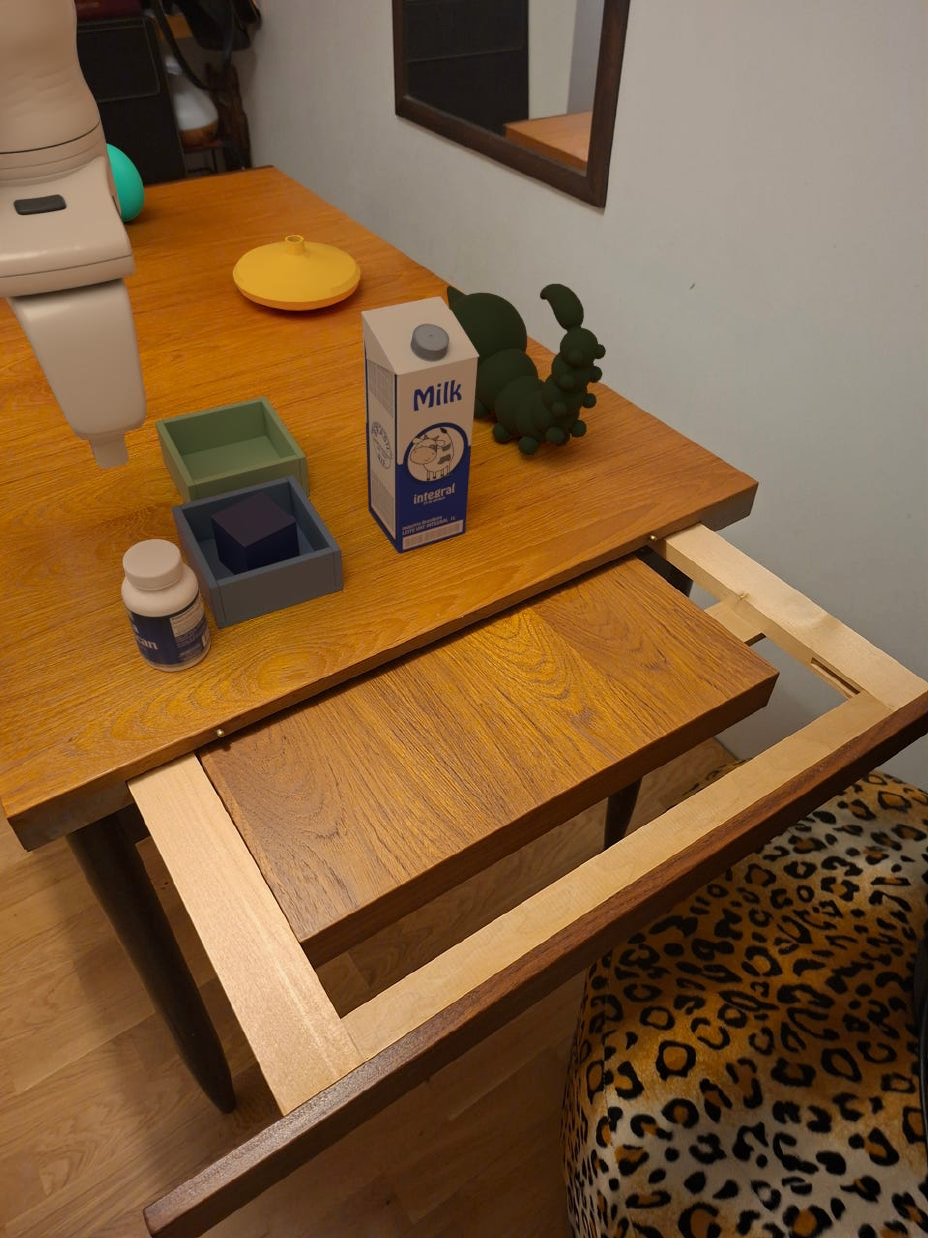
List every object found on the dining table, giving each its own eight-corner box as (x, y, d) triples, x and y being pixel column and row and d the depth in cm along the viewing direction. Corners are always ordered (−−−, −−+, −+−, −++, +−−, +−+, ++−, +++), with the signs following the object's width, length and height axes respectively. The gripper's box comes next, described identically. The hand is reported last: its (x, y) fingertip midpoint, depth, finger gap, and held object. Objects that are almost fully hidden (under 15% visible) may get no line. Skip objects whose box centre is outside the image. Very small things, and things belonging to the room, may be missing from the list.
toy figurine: (596, 475, 90) (476, 344, 103) (644, 311, 75) (497, 181, 88) (520, 500, 86) (405, 361, 99) (554, 333, 72) (415, 194, 84)
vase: (371, 273, 115) (370, 219, 110) (348, 331, 104) (346, 273, 99) (254, 261, 116) (247, 207, 110) (219, 318, 105) (210, 260, 100)
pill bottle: (126, 652, 68) (94, 560, 61) (178, 613, 71) (154, 521, 64) (174, 685, 66) (147, 594, 59) (226, 643, 69) (206, 552, 62)
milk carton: (433, 491, 84) (441, 292, 69) (467, 532, 80) (481, 331, 65) (366, 510, 81) (359, 308, 67) (397, 554, 77) (396, 350, 63)
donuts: (48, 234, 118) (25, 155, 110) (97, 209, 124) (78, 132, 117) (109, 250, 115) (89, 170, 108) (155, 223, 122) (140, 147, 115)
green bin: (196, 527, 78) (187, 486, 75) (164, 461, 85) (154, 420, 81) (309, 496, 82) (306, 456, 79) (270, 435, 89) (265, 395, 85)
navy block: (251, 591, 72) (244, 547, 69) (219, 560, 75) (210, 515, 71) (301, 565, 75) (296, 520, 71) (267, 536, 77) (261, 491, 74)
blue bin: (218, 629, 70) (209, 588, 67) (180, 547, 76) (170, 506, 73) (343, 589, 74) (341, 549, 71) (297, 514, 80) (293, 474, 77)
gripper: (-74, 126, 49) (7, 350, 59) (-10, 280, 37) (77, 529, 47) (44, 114, 51) (102, 332, 61) (140, 255, 39) (193, 497, 49)
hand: (92, 419), depth 54 cm, fingers open, 8 cm apart
